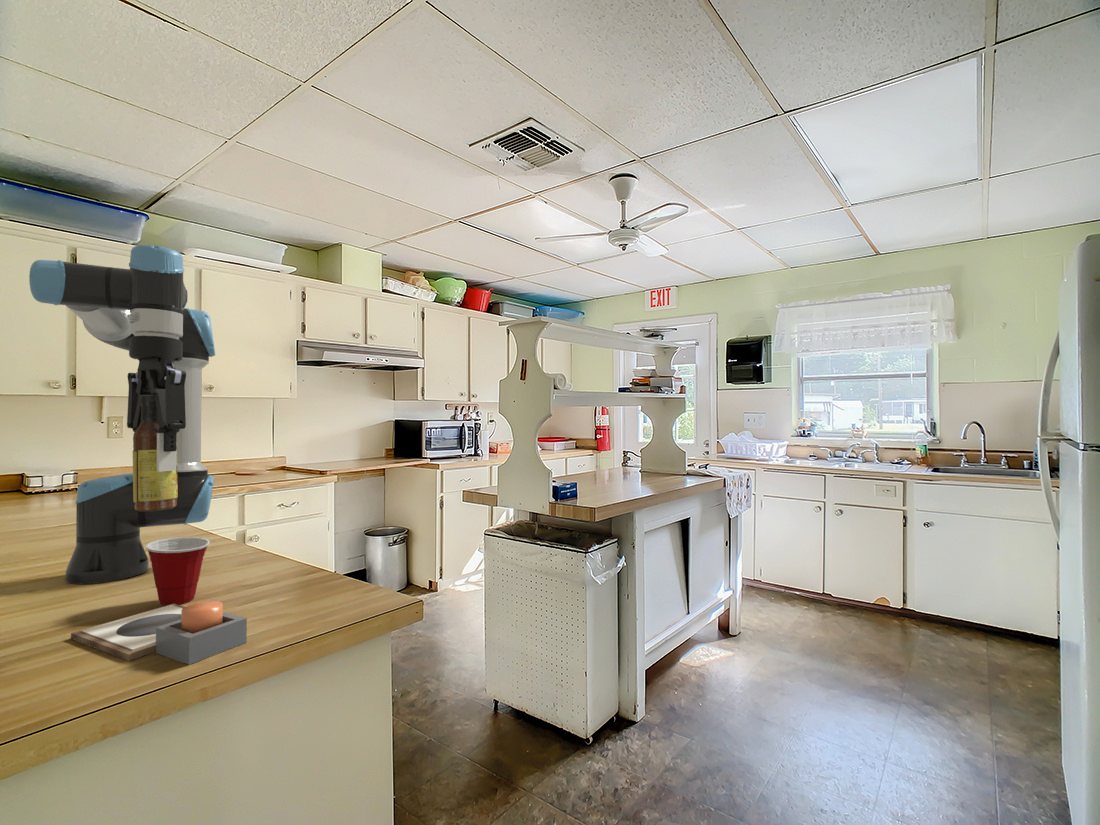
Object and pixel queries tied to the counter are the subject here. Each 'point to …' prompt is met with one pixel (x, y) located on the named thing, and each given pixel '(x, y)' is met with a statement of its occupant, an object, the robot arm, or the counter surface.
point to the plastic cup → (177, 567)
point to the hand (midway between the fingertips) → (155, 469)
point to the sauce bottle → (151, 464)
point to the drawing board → (129, 632)
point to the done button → (201, 616)
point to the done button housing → (200, 639)
